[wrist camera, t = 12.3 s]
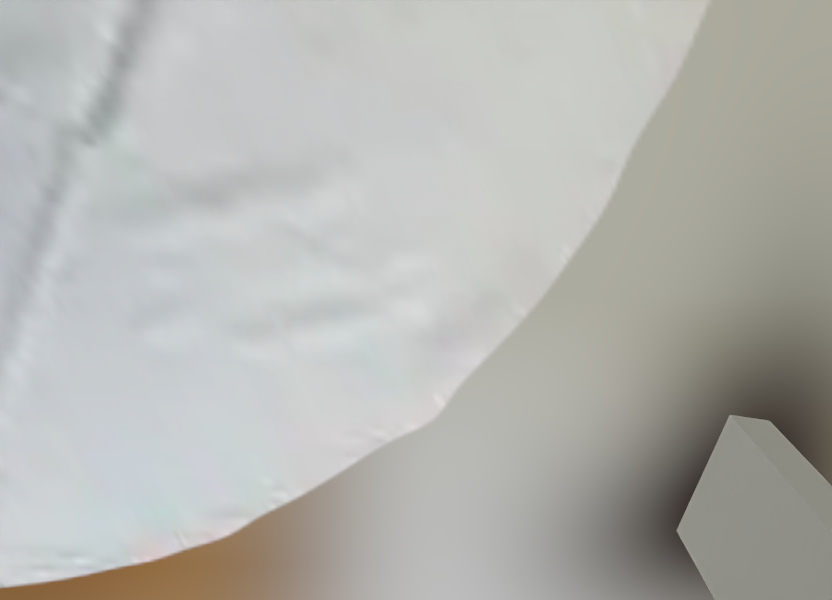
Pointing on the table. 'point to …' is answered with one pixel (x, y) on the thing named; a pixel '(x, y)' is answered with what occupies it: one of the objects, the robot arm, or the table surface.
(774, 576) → the robot arm
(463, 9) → the table surface
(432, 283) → the table surface
